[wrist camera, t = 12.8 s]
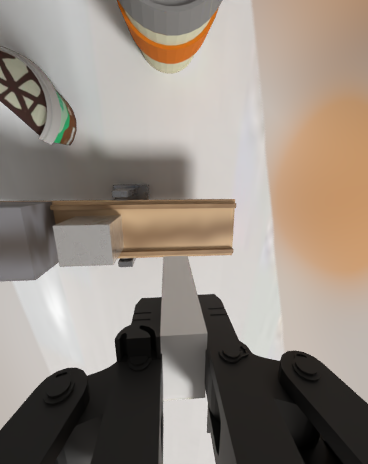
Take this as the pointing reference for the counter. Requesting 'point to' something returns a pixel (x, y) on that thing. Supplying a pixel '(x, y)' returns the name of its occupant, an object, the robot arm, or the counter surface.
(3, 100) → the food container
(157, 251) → the balance beam
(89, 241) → the block
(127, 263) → the balance stand
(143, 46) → the reusable coffee cup
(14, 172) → the counter surface
